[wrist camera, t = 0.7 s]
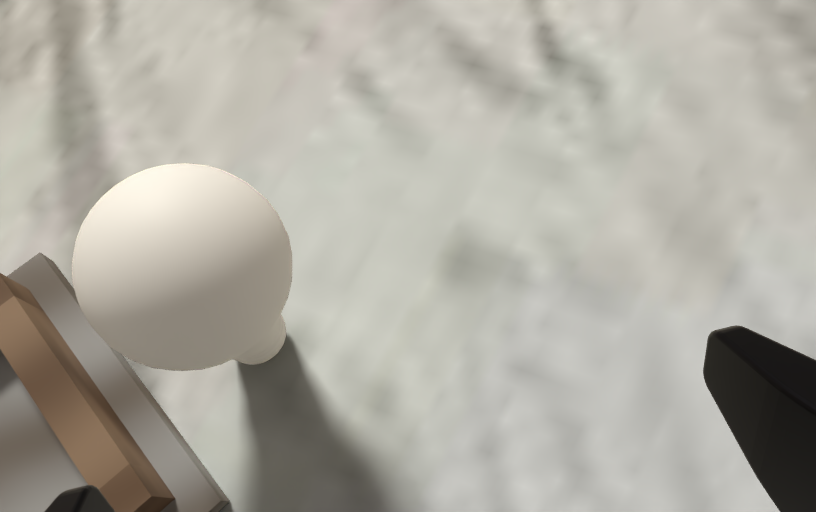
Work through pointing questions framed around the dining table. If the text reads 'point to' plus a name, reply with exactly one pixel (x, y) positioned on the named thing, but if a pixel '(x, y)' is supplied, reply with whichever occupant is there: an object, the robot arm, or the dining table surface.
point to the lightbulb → (184, 269)
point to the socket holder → (82, 411)
